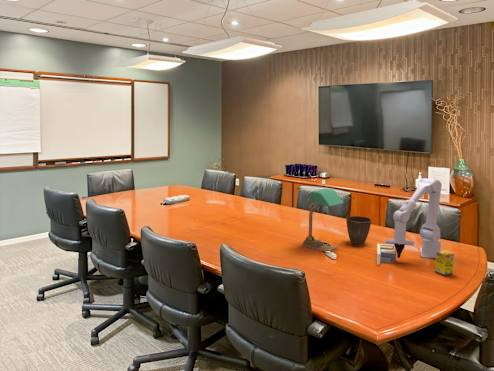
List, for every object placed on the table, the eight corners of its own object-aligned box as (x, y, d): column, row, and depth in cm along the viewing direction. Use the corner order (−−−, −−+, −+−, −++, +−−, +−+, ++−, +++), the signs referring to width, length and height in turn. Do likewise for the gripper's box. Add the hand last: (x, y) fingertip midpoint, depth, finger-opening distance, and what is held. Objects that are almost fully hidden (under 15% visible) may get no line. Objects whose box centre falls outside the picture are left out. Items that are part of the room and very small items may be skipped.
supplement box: (444, 276, 210) (445, 254, 208) (434, 272, 216) (436, 251, 214) (452, 274, 212) (454, 253, 211) (443, 270, 218) (444, 249, 216)
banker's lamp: (313, 241, 267) (315, 186, 262) (342, 249, 253) (345, 190, 247) (298, 247, 256) (299, 189, 250) (327, 255, 242) (329, 194, 236)
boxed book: (394, 260, 234) (395, 250, 233) (395, 262, 230) (396, 252, 229) (379, 258, 235) (380, 249, 235) (380, 261, 231) (380, 251, 231)
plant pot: (374, 244, 262) (375, 218, 260) (363, 249, 251) (364, 223, 249) (352, 239, 272) (353, 215, 270) (340, 244, 261) (341, 219, 259)
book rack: (393, 255, 242) (393, 245, 241) (394, 266, 224) (395, 255, 223) (376, 253, 244) (377, 243, 243) (376, 264, 226) (377, 253, 225)
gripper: (386, 233, 227) (384, 258, 229) (415, 235, 223) (413, 260, 225) (385, 230, 233) (384, 254, 236) (414, 232, 229) (412, 256, 232)
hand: (398, 257), depth 231 cm, fingers closed
